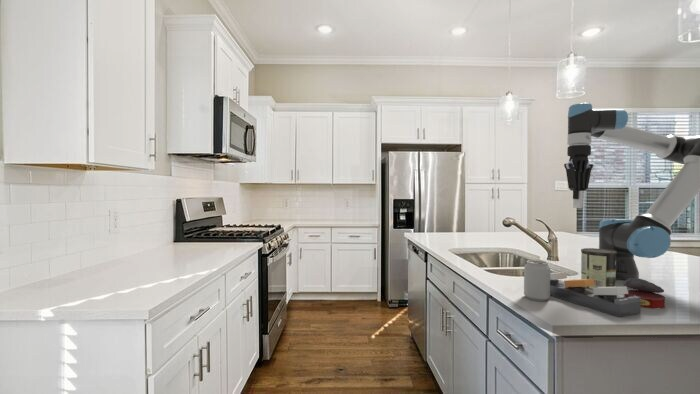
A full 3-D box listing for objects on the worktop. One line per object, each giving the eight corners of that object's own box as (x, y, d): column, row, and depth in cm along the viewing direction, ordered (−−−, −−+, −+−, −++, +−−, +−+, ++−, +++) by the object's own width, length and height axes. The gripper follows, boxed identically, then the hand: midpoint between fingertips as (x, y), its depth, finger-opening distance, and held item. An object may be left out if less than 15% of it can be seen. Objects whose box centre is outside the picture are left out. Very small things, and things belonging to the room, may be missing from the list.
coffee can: (606, 287, 131) (607, 248, 131) (621, 295, 121) (622, 253, 121) (575, 285, 133) (576, 247, 133) (587, 293, 123) (588, 252, 123)
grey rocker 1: (540, 280, 127) (539, 274, 127) (549, 279, 128) (548, 273, 129) (557, 279, 120) (556, 273, 121) (567, 278, 122) (565, 272, 122)
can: (552, 298, 118) (553, 261, 117) (545, 303, 112) (546, 264, 112) (528, 293, 123) (529, 258, 123) (520, 298, 118) (520, 261, 117)
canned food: (622, 315, 115) (609, 284, 120) (653, 311, 116) (638, 280, 120) (648, 309, 105) (633, 275, 110) (681, 305, 106) (665, 272, 110)
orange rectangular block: (565, 287, 118) (564, 280, 118) (574, 286, 119) (573, 279, 120) (585, 286, 111) (584, 279, 112) (595, 285, 113) (593, 278, 113)
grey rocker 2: (594, 295, 109) (592, 288, 109) (604, 293, 111) (602, 286, 111) (618, 295, 103) (616, 287, 103) (628, 293, 104) (626, 286, 105)
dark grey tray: (529, 289, 128) (529, 276, 128) (548, 286, 131) (548, 273, 131) (619, 317, 100) (620, 300, 100) (640, 313, 103) (640, 297, 103)
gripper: (576, 143, 130) (575, 208, 131) (600, 145, 135) (599, 208, 136) (557, 145, 137) (556, 207, 138) (581, 147, 142) (580, 207, 143)
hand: (577, 207), depth 137 cm, fingers closed
